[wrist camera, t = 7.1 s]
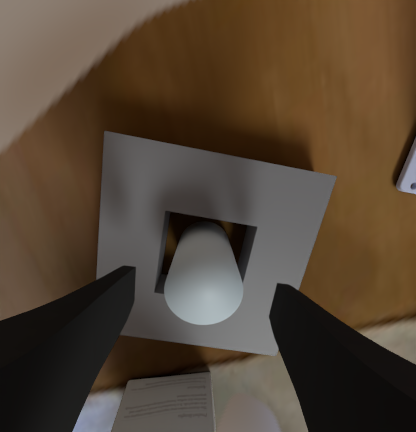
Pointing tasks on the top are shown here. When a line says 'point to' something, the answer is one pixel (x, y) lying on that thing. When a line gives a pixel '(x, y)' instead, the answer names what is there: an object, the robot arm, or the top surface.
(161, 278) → the dock
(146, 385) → the skincare box
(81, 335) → the robot arm
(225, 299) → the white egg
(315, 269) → the top surface
